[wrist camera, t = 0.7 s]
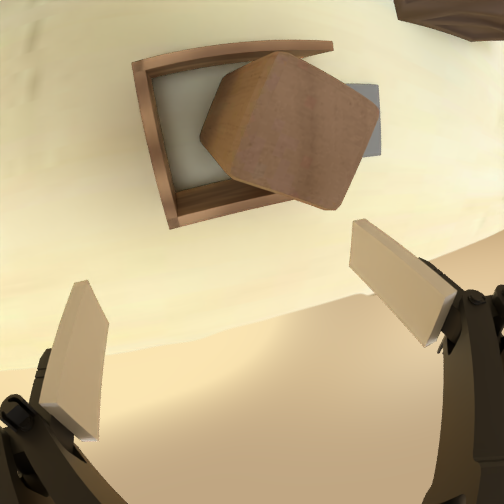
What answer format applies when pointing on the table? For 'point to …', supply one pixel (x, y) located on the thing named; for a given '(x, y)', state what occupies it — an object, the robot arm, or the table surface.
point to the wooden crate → (456, 17)
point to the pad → (375, 140)
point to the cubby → (174, 203)
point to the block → (289, 129)
